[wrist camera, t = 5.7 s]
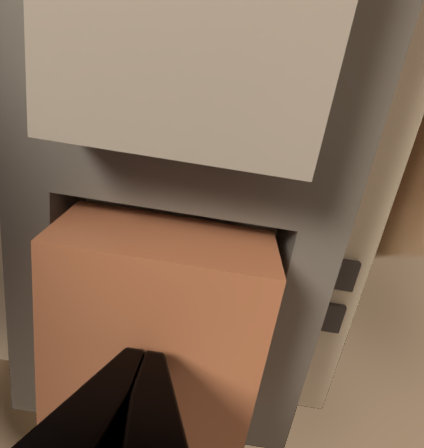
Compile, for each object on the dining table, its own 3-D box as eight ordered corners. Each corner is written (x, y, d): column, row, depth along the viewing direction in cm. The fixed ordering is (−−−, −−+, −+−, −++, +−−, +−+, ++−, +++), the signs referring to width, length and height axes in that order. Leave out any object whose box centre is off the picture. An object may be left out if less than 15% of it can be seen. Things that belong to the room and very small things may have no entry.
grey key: (80, 120, 9) (27, 137, 7) (86, -154, 7) (14, -265, 5) (291, 154, 9) (311, 182, 7) (351, -110, 7) (409, -199, 5)
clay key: (75, 356, 12) (36, 427, 9) (79, 200, 10) (31, 240, 7) (239, 381, 12) (241, 458, 9) (273, 231, 10) (286, 281, 7)
